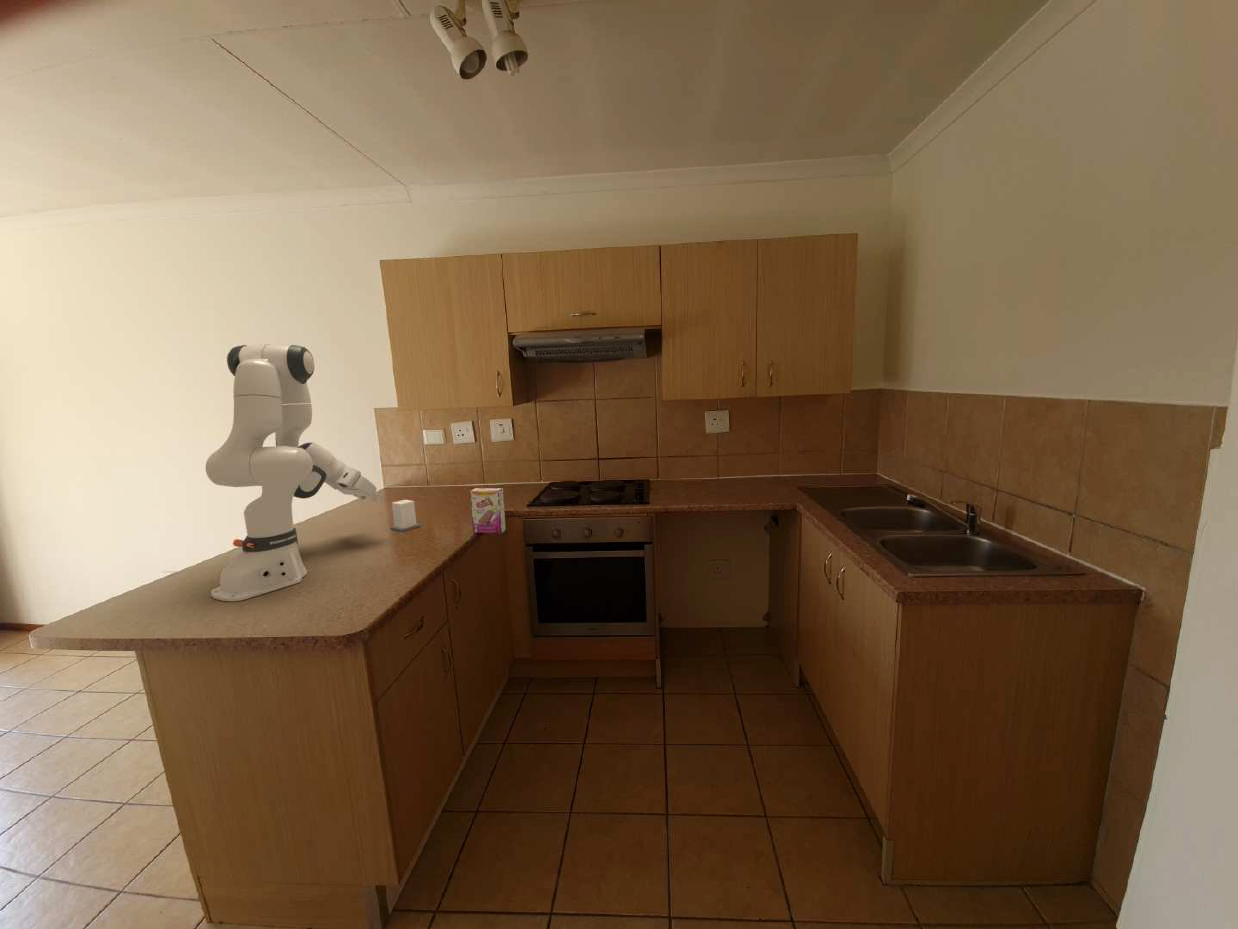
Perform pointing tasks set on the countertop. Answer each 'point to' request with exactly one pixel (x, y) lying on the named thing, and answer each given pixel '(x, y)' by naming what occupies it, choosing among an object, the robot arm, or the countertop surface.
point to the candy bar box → (488, 510)
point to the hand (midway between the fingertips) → (371, 499)
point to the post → (405, 528)
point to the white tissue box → (404, 514)
